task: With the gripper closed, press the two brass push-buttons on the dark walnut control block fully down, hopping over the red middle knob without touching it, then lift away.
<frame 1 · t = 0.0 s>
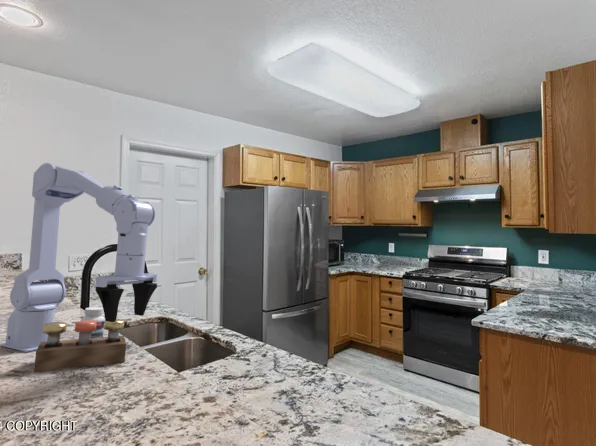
hand: (125, 318, 74), 10 cm above the countertop, tool pointing down, fingers open, 7 cm apart
right brass button: (113, 332, 77), point 6 cm above the countertop, slide at 0.0 cm
control block: (82, 361, 74), on the countertop
red knob: (84, 334, 75), point 6 cm above the countertop, slide at 0.0 cm
left brass button: (53, 337, 72), point 6 cm above the countertop, slide at 0.0 cm
pill bottle: (90, 344, 87), on the countertop
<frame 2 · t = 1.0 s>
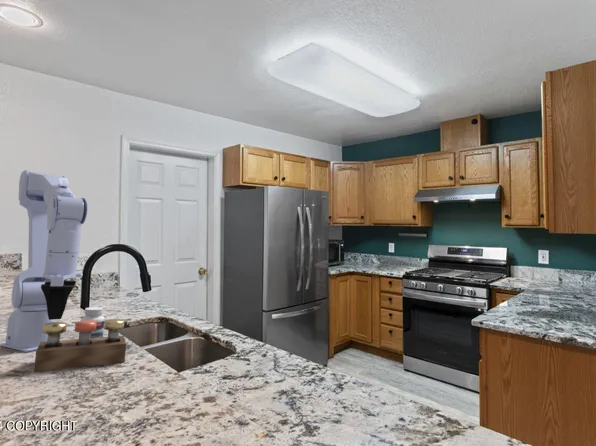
hand: (56, 316, 72), 10 cm above the countertop, tool pointing down, fingers open, 4 cm apart
nothing on the countertop moved.
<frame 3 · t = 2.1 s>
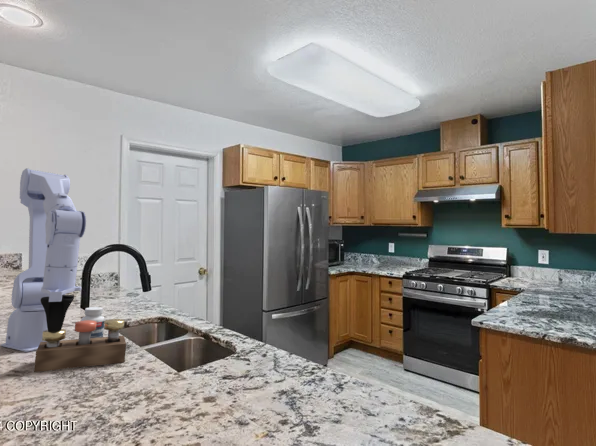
hand: (54, 331, 72), 7 cm above the countertop, tool pointing down, fingers closed, pressing on left brass button
left brass button: (53, 344, 72), point 4 cm above the countertop, slide at 1.5 cm, touching gripper
everything else where it was.
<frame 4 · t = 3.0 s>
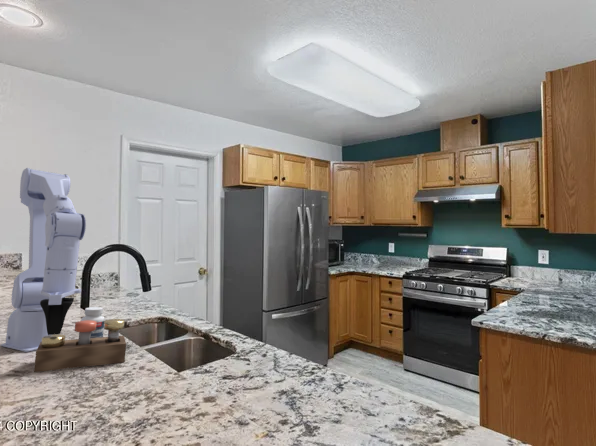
hand: (54, 333, 72), 6 cm above the countertop, tool pointing down, fingers closed
left brass button: (52, 350, 72), point 3 cm above the countertop, slide at 2.7 cm
everything else where it was.
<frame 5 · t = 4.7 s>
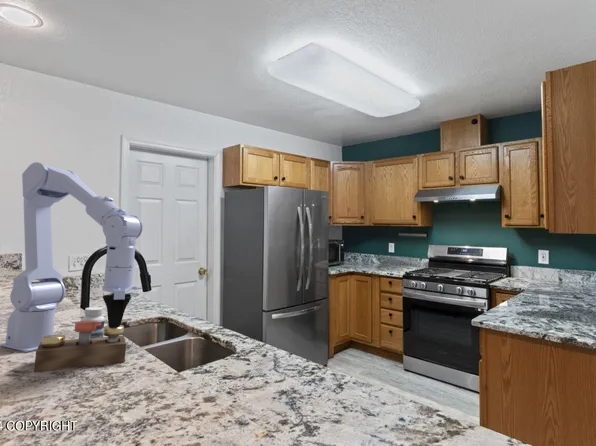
hand: (114, 326, 78), 7 cm above the countertop, tool pointing down, fingers closed, pressing on right brass button
right brass button: (113, 338, 77), point 4 cm above the countertop, slide at 1.3 cm, touching gripper
everything else where it was.
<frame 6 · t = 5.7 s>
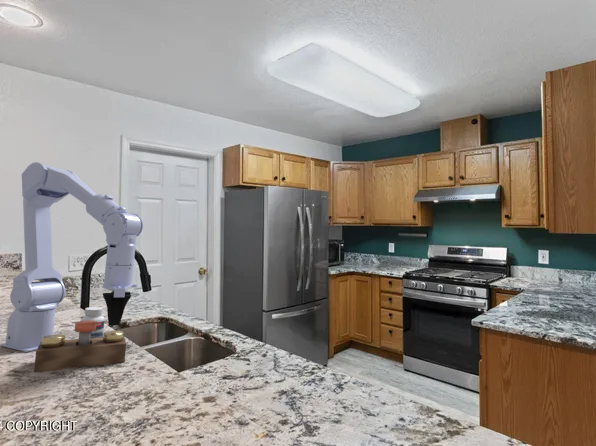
hand: (114, 324, 78), 8 cm above the countertop, tool pointing down, fingers closed
right brass button: (112, 344, 77), point 3 cm above the countertop, slide at 2.7 cm
everything else where it was.
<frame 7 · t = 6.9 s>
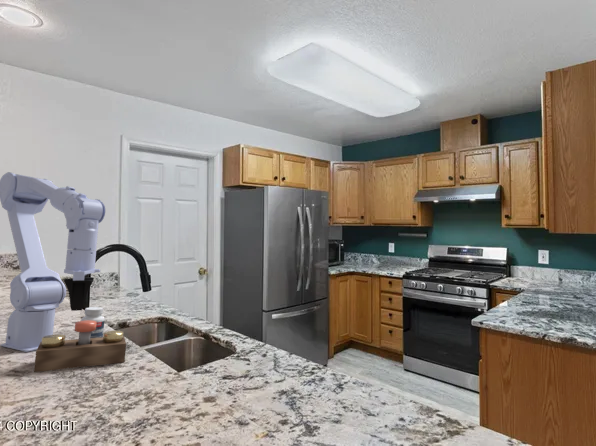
hand: (76, 310, 77), 10 cm above the countertop, tool pointing down, fingers closed
nothing on the countertop moved.
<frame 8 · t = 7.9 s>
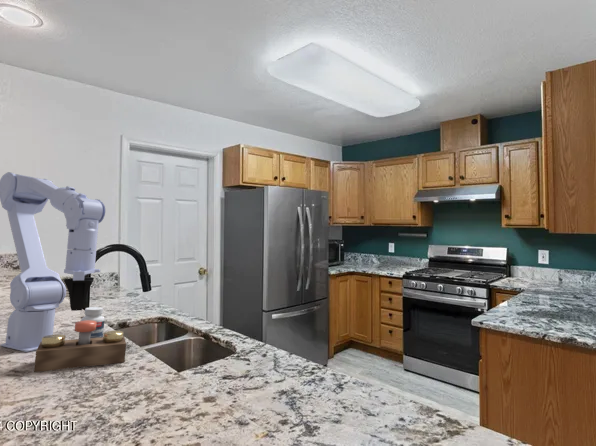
hand: (76, 310, 77), 10 cm above the countertop, tool pointing down, fingers closed
nothing on the countertop moved.
at the end: left brass button slide at 2.7 cm; right brass button slide at 2.7 cm; red knob slide at 0.0 cm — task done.
